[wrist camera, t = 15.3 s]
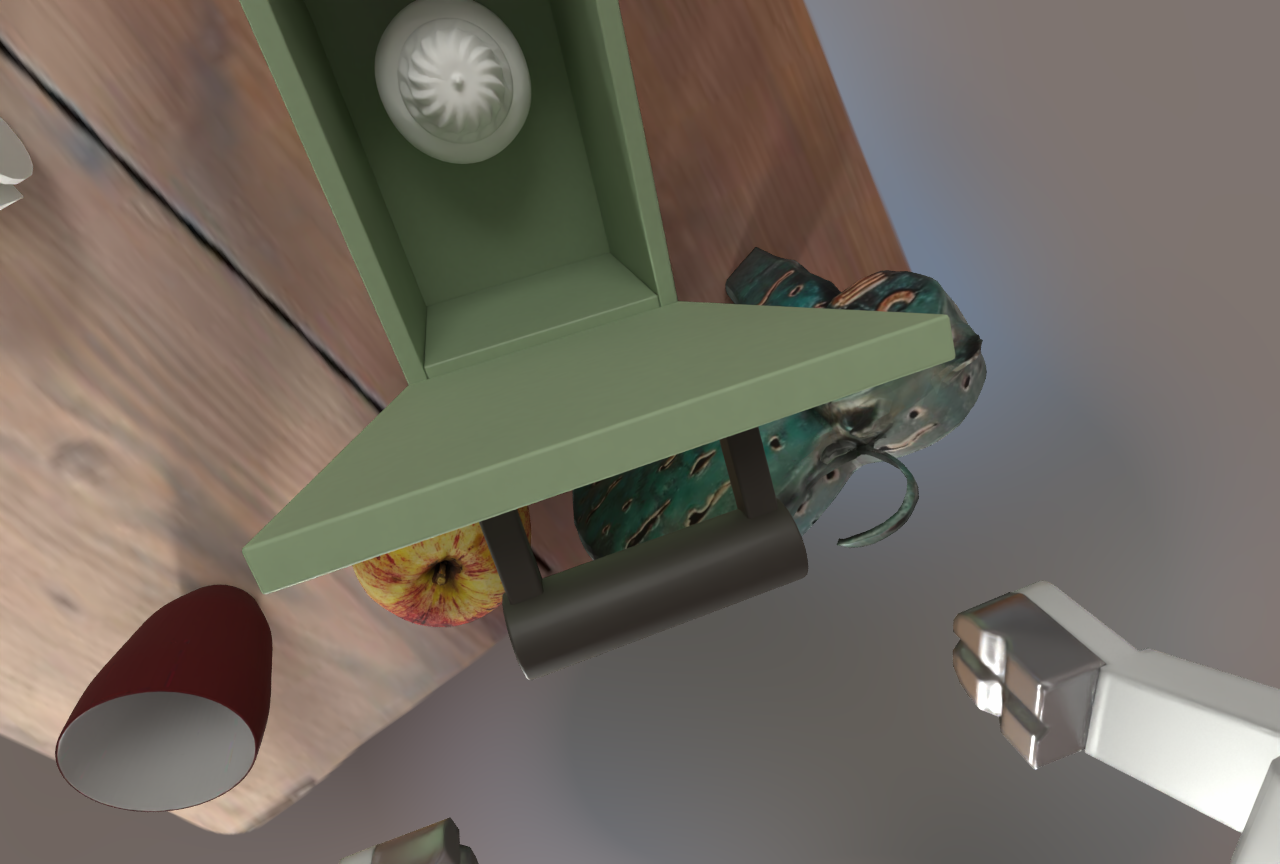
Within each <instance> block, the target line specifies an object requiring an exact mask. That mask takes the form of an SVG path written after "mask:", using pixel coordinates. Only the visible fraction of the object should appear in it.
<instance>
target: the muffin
mask: <svg viewBox="0 0 1280 864" xmlns="http://www.w3.org/2000/svg"><path fill="white" fill-rule="evenodd" d="M375 79H376V85H377V89H378V92H379V95H380V98H381V101H382V103H383V105H384V108H385V110H386V112H387V114H388V116H389V118H390V119H391V121H392V123H393V124H394V125H395V127H396V128H397V130H398V131H399V132H400V133H401V135H402V136H403V137H404V138H405V139H406V140H407V141H408V142H409V143H411V144H412V145H413V146H414V147H415V148H417V149H418V150H420V151H421V152H423V153H425V154H427V155H428V156H431V157H433V158H436V159H438V160H441V161H444V162H449V163H455V164H470V163H476V162H481V161H484V160H487V159H489V158H491V157H493V156H495V155H496V154H498V153H499V152H501V151H502V150H503V149H505V148H506V147H507V146H508V145H509V144H510V143H511V142H512V141H513V139H514V138H515V137H516V136H517V134H518V133H519V131H520V130H521V128H522V127H523V125H524V123H525V121H526V118H527V116H528V113H529V109H530V104H531V80H530V74H529V70H528V67H527V63H526V60H525V57H524V55H523V52H522V50H521V48H520V46H519V44H518V42H517V40H516V38H515V37H514V35H513V34H512V32H511V31H510V29H509V28H508V27H507V26H506V24H505V23H504V22H503V21H502V20H501V19H500V18H499V17H498V16H497V15H495V14H494V13H493V12H492V11H490V10H489V9H487V8H486V7H484V6H483V5H481V4H479V3H477V2H475V1H473V0H416V1H414V2H412V3H410V4H409V5H407V6H406V7H405V8H403V9H402V10H401V11H400V12H399V13H398V14H397V15H396V16H395V17H394V18H393V19H392V21H391V22H390V23H389V25H388V26H387V28H386V29H385V31H384V33H383V34H382V36H381V39H380V41H379V44H378V46H377V50H376V55H375Z"/></svg>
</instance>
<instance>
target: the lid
mask: <svg viewBox="0 0 1280 864" xmlns="http://www.w3.org/2000/svg"><path fill="white" fill-rule="evenodd" d="M954 358H955V350H954V343H953V337H952V331H951V325H950V319H949V317H948V315H944V314H924V313H904V312H884V311H863V310H843V309H823V308H803V307H782V306H762V305H742V304H722V303H701V302H681V301H679V302H676V303H673V304H669V305H666V306H663V307H660V308H657V309H653V310H650V311H647V312H644V313H640V314H637V315H634V316H631V317H628V318H624V319H621V320H618V321H615V322H611V323H608V324H605V325H602V326H599V327H595V328H592V329H589V330H586V331H582V332H579V333H576V334H573V335H570V336H566V337H563V338H560V339H557V340H553V341H550V342H547V343H544V344H541V345H537V346H534V347H531V348H528V349H524V350H521V351H518V352H515V353H512V354H508V355H505V356H502V357H499V358H495V359H492V360H489V361H486V362H483V363H479V364H476V365H473V366H470V367H467V368H463V369H460V370H457V371H454V372H450V373H447V374H444V375H441V376H438V377H434V378H431V379H428V380H425V381H421V382H418V383H415V384H412V385H409V386H407V387H406V388H405V389H404V390H403V391H402V392H401V393H400V394H399V395H398V396H397V397H396V398H395V399H394V400H393V401H392V402H391V403H390V404H389V405H388V406H387V407H386V408H385V409H384V410H383V411H382V412H381V413H380V414H379V415H378V416H377V417H376V418H375V419H374V420H373V421H372V422H371V423H370V424H369V425H368V426H367V427H366V428H365V429H364V430H363V431H362V432H361V433H360V434H359V435H357V436H356V437H355V438H354V439H353V440H352V441H351V442H350V443H349V444H348V445H347V446H346V447H345V448H344V449H343V450H342V451H341V452H340V453H339V454H338V455H337V456H336V457H335V458H334V459H333V460H332V461H331V462H330V463H329V464H328V465H327V466H326V467H325V468H324V469H323V470H322V471H321V472H320V473H319V474H318V475H317V476H316V477H315V478H314V479H313V480H312V481H311V482H310V483H309V484H308V485H307V486H306V487H305V488H303V489H302V490H301V491H300V492H299V493H298V494H297V495H296V496H295V497H294V498H293V499H292V500H291V501H290V502H289V503H288V504H287V505H286V506H285V507H284V508H283V509H282V510H281V511H280V512H279V513H278V514H277V515H276V516H275V517H274V518H273V519H272V520H271V521H270V522H269V523H268V524H267V525H266V526H265V527H264V528H263V529H262V530H261V531H260V532H259V533H258V534H257V535H256V536H255V537H254V538H253V539H252V540H251V541H249V542H248V543H247V544H246V545H245V546H244V547H243V548H242V553H243V555H244V557H245V559H246V561H247V563H248V566H249V568H250V570H251V572H252V574H253V576H254V578H255V580H256V582H257V584H258V586H259V588H260V590H261V592H262V593H263V594H270V593H272V592H275V591H278V590H281V589H284V588H287V587H290V586H293V585H296V584H299V583H302V582H305V581H308V580H310V579H313V578H316V577H319V576H322V575H325V574H328V573H331V572H334V571H337V570H340V569H343V568H346V567H348V566H351V565H354V564H357V563H360V562H363V561H366V560H369V559H372V558H375V557H378V556H381V555H384V554H386V553H389V552H392V551H395V550H398V549H401V548H404V547H407V546H410V545H413V544H416V543H419V542H422V541H424V540H427V539H430V538H433V537H436V536H439V535H442V534H445V533H448V532H451V531H454V530H457V529H460V528H462V527H465V526H468V525H471V524H474V523H477V522H479V524H480V527H481V529H482V532H483V535H484V537H485V540H486V543H487V545H488V548H489V551H490V553H491V556H492V559H493V561H494V564H495V566H496V569H497V572H498V574H499V577H500V580H501V582H502V585H503V588H504V590H505V593H504V594H503V596H502V605H503V612H504V617H505V622H506V626H507V630H508V634H509V637H510V640H511V643H512V647H513V650H514V653H515V655H516V658H517V660H518V663H519V665H520V667H521V670H522V672H523V673H524V675H525V677H526V678H527V679H528V680H534V679H537V678H539V677H542V676H545V675H548V674H550V673H553V672H556V671H558V670H561V669H563V668H566V667H569V666H571V665H574V664H577V663H579V662H582V661H585V660H587V659H590V658H592V657H595V656H598V655H601V654H603V653H606V652H608V651H611V650H614V649H616V648H619V647H622V646H624V645H627V644H630V643H632V642H635V641H637V640H640V639H643V638H645V637H648V636H651V635H653V634H656V633H659V632H661V631H664V630H666V629H669V628H672V627H675V626H677V625H680V624H683V623H685V622H688V621H690V620H693V619H696V618H698V617H701V616H704V615H706V614H709V613H712V612H714V611H717V610H720V609H722V608H725V607H728V606H730V605H733V604H736V603H738V602H741V601H743V600H746V599H749V598H751V597H754V596H756V595H759V594H762V593H765V592H767V591H770V590H772V589H775V588H778V587H780V586H783V585H786V584H789V583H791V582H794V581H796V580H799V579H802V578H804V577H805V576H806V575H807V572H808V560H807V554H806V549H805V546H804V543H803V540H802V537H801V534H800V532H799V529H798V527H797V525H796V523H795V521H794V519H793V517H792V515H791V514H790V512H789V511H788V509H787V508H786V507H785V505H784V504H783V503H782V502H781V501H780V500H779V499H778V498H776V495H775V491H774V487H773V483H772V479H771V475H770V471H769V467H768V463H767V459H766V455H765V451H764V447H763V443H762V439H761V435H760V431H759V427H758V426H761V425H764V424H766V423H769V422H772V421H775V420H778V419H781V418H784V417H787V416H790V415H793V414H796V413H799V412H802V411H804V410H807V409H810V408H813V407H816V406H819V405H822V404H825V403H828V402H831V401H834V400H837V399H840V398H842V397H845V396H848V395H851V394H854V393H857V392H860V391H863V390H866V389H869V388H872V387H875V386H878V385H880V384H883V383H886V382H889V381H892V380H895V379H898V378H901V377H904V376H907V375H910V374H913V373H916V372H918V371H921V370H924V369H927V368H930V367H933V366H936V365H939V364H942V363H945V362H948V361H951V360H953V359H954ZM717 440H719V441H720V445H721V448H722V452H723V456H724V460H725V463H726V467H727V471H728V475H729V478H730V482H731V486H732V490H733V493H734V497H735V501H736V505H737V508H738V509H736V510H733V511H730V512H727V513H725V514H722V515H719V516H716V517H714V518H711V519H708V520H705V521H702V522H700V523H697V524H694V525H691V526H688V527H686V528H683V529H680V530H677V531H674V532H672V533H669V534H666V535H663V536H660V537H658V538H655V539H652V540H649V541H646V542H644V543H641V544H638V545H635V546H632V547H630V548H627V549H624V550H621V551H619V552H616V553H613V554H610V555H607V556H605V557H602V558H599V559H596V560H593V561H591V562H588V563H585V564H582V565H579V566H577V567H574V568H571V569H568V570H565V571H563V572H560V573H557V574H554V575H551V576H549V577H546V578H543V579H542V577H541V574H540V571H539V568H538V566H537V563H536V560H535V557H534V555H533V552H532V549H531V546H530V543H529V541H528V538H527V535H526V532H525V529H524V527H523V524H522V521H521V518H520V516H519V513H518V510H517V509H518V508H521V507H524V506H527V505H530V504H533V503H536V502H538V501H541V500H544V499H547V498H550V497H553V496H556V495H559V494H562V493H565V492H568V491H571V490H574V489H576V488H579V487H582V486H585V485H588V484H591V483H594V482H597V481H600V480H603V479H606V478H609V477H612V476H614V475H617V474H620V473H623V472H626V471H629V470H632V469H635V468H638V467H641V466H644V465H647V464H650V463H652V462H655V461H658V460H661V459H664V458H667V457H670V456H673V455H676V454H679V453H682V452H685V451H688V450H690V449H693V448H696V447H699V446H702V445H705V444H708V443H711V442H714V441H717Z"/></svg>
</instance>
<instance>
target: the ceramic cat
mask: <svg viewBox="0 0 1280 864" xmlns="http://www.w3.org/2000/svg"><path fill="white" fill-rule="evenodd" d="M726 291H727V294H728V295H729V297H730V298H731V300H732V301H733V302H734V304H742V305H762V306H782V307H803V308H823V309H843V310H863V311H884V312H904V313H924V314H944V315H948V317H949V319H950V325H951V331H952V337H953V343H954V350H955V358H954V359H953V360H951V361H948V362H945V363H942V364H939V365H936V366H933V367H930V368H927V369H924V370H921V371H918V372H916V373H913V374H910V375H907V376H904V377H901V378H898V379H895V380H892V381H889V382H886V383H883V384H880V385H878V386H875V387H872V388H869V389H866V390H863V391H860V392H857V393H854V394H851V395H848V396H845V397H842V398H840V399H837V400H834V401H831V402H828V403H825V404H822V405H819V406H816V407H813V408H810V409H807V410H804V411H802V412H799V413H796V414H793V415H790V416H787V417H784V418H781V419H778V420H775V421H772V422H769V423H766V424H764V425H761V426H758V427H759V431H760V435H761V439H762V443H763V447H764V451H765V455H766V459H767V463H768V467H769V471H770V475H771V479H772V483H773V487H774V491H775V495H776V498H778V499H779V500H780V501H781V502H782V503H783V504H784V505H785V507H786V508H787V509H788V511H789V512H790V514H791V515H792V517H793V519H794V521H795V523H796V525H797V527H798V529H799V532H800V534H801V537H802V536H803V535H804V533H806V532H807V531H808V529H809V528H810V527H811V526H812V525H813V524H814V523H815V522H816V521H817V520H818V519H819V517H820V516H821V514H822V513H823V512H824V511H825V510H826V509H827V507H828V506H829V505H830V504H831V503H832V501H833V500H834V499H835V498H836V496H837V495H838V493H839V492H840V491H841V489H842V488H843V486H844V485H845V484H846V482H847V481H848V479H849V478H850V476H851V475H852V474H853V473H854V472H855V471H856V470H857V469H859V468H860V467H861V466H863V465H865V464H869V463H873V462H882V461H885V462H887V463H890V464H891V465H893V466H895V467H896V468H898V469H900V470H901V471H902V473H903V474H904V475H905V477H906V478H907V493H906V496H905V498H904V501H903V503H902V505H901V507H900V508H899V510H898V512H896V513H895V514H894V515H893V516H892V517H890V518H889V519H888V520H886V521H885V522H884V523H882V524H880V525H878V526H876V527H874V528H873V529H871V530H868V531H866V532H863V533H860V534H857V535H854V536H851V537H849V538H846V539H839V541H838V543H837V545H839V546H844V547H848V548H855V547H864V546H867V545H871V544H874V543H876V542H878V541H881V540H883V539H884V538H886V537H888V536H889V535H891V534H893V533H894V532H896V531H897V530H898V529H899V528H900V527H902V526H903V525H904V524H905V523H906V522H907V520H908V519H909V517H910V516H911V514H912V512H913V510H914V508H915V505H916V503H917V501H918V499H919V495H918V494H919V493H918V486H917V483H916V481H915V479H914V477H913V475H912V474H911V473H910V471H909V470H908V469H907V468H906V467H905V465H904V464H903V463H901V462H900V461H899V460H898V459H896V458H899V457H902V456H905V455H907V454H910V453H913V452H916V451H918V450H920V449H923V448H926V447H928V446H931V445H932V444H934V443H936V442H937V441H939V440H941V439H942V438H944V437H946V435H948V434H949V433H950V432H952V431H953V430H954V429H955V428H956V427H958V426H959V425H960V424H961V423H962V421H963V420H964V419H965V417H966V416H967V414H968V413H969V412H970V410H971V409H972V407H973V406H974V404H975V402H976V401H977V399H978V396H979V394H980V392H981V390H982V387H983V384H984V382H985V379H986V373H987V371H986V365H985V361H984V358H983V356H982V354H981V344H982V341H983V340H981V339H980V337H979V335H977V334H976V333H975V332H974V331H973V330H972V328H971V327H970V326H969V325H968V323H967V321H966V320H965V318H964V317H963V315H962V313H961V312H960V310H959V308H958V307H957V305H956V304H955V303H954V302H953V300H952V299H951V298H950V297H949V296H948V295H947V293H946V292H945V291H944V290H943V288H942V287H941V285H940V284H939V283H938V282H937V281H936V280H934V279H933V278H930V277H927V276H924V275H921V274H917V273H913V272H908V271H900V272H896V271H888V270H887V271H879V272H877V273H874V274H872V275H870V276H867V277H865V278H862V279H860V280H859V281H857V282H856V283H854V284H853V285H852V286H850V287H849V288H847V289H846V290H844V291H843V292H840V291H839V290H838V289H837V288H836V286H835V285H834V284H833V283H832V282H830V281H828V280H825V279H823V278H821V277H819V276H817V275H814V274H811V273H810V272H809V271H808V270H806V269H805V268H804V267H803V266H802V265H800V264H799V263H798V262H796V261H795V260H789V259H784V258H780V257H777V256H774V255H772V254H770V253H768V252H766V251H764V250H761V249H759V248H757V247H755V249H754V250H753V251H752V252H751V253H750V254H749V255H748V256H747V258H746V259H745V260H744V261H743V262H742V263H741V264H740V265H739V266H738V268H737V269H736V270H735V271H734V272H733V274H732V275H731V276H730V277H729V278H728V279H727V281H726ZM736 509H738V508H737V505H736V501H735V497H734V493H733V490H732V486H731V482H730V478H729V475H728V471H727V467H726V463H725V460H724V456H723V452H722V448H721V445H720V441H719V440H717V441H714V442H711V443H708V444H705V445H702V446H699V447H696V448H693V449H690V450H688V451H685V452H682V453H679V454H676V455H673V456H670V457H667V458H664V459H661V460H658V461H655V462H652V463H650V464H647V465H644V466H641V467H638V468H635V469H632V470H629V471H626V472H623V473H620V474H617V475H614V476H612V477H609V478H606V479H603V480H600V481H597V482H594V483H591V484H588V485H585V486H582V487H579V488H576V489H574V490H573V510H574V523H575V526H576V529H577V531H578V534H579V537H580V540H581V542H582V544H583V546H584V548H585V550H586V551H587V553H588V554H589V556H590V557H591V558H592V560H596V559H599V558H602V557H605V556H607V555H610V554H613V553H616V552H619V551H621V550H624V549H627V548H630V547H632V546H635V545H638V544H641V543H644V542H646V541H649V540H652V539H655V538H658V537H660V536H663V535H666V534H669V533H672V532H674V531H677V530H680V529H683V528H686V527H688V526H691V525H694V524H697V523H700V522H702V521H705V520H708V519H711V518H714V517H716V516H719V515H722V514H725V513H727V512H730V511H733V510H736Z"/></svg>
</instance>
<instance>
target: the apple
mask: <svg viewBox="0 0 1280 864" xmlns="http://www.w3.org/2000/svg"><path fill="white" fill-rule="evenodd" d="M517 510H518V513H519V516H520V518H521V521H522V524H523V527H524V529H525V532H526V535H527V538H528V541H529V543H530V546H531V524H530V515H529V509H528V505H527V506H524V507H521V508H518V509H517ZM352 566H353V569H354V571H355V574H356V576H357V578H358V580H359V582H360V584H361V585H362V587H363V588H364V590H365V591H366V593H367V594H368V595H369V596H370V597H371V598H372V599H373V600H374V601H376V602H377V603H378V604H379V605H381V606H382V607H383V608H385V609H386V610H388V611H390V612H391V613H393V614H395V615H397V616H398V617H400V618H402V619H404V620H407V621H409V622H412V623H415V624H419V625H424V626H432V627H450V626H457V625H461V624H465V623H469V622H472V621H474V620H477V619H479V618H481V617H483V616H485V615H486V614H488V613H489V612H491V611H492V610H494V609H495V608H497V607H498V606H499V605H501V604H502V596H503V594H504V593H505V590H504V588H503V585H502V582H501V580H500V577H499V574H498V572H497V569H496V566H495V564H494V561H493V559H492V556H491V553H490V551H489V548H488V545H487V543H486V540H485V537H484V535H483V532H482V529H481V527H480V524H479V522H477V523H474V524H471V525H468V526H465V527H462V528H460V529H457V530H454V531H451V532H448V533H445V534H442V535H439V536H436V537H433V538H430V539H427V540H424V541H422V542H419V543H416V544H413V545H410V546H407V547H404V548H401V549H398V550H395V551H392V552H389V553H386V554H384V555H381V556H378V557H375V558H372V559H369V560H366V561H363V562H360V563H357V564H354V565H352Z"/></svg>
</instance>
